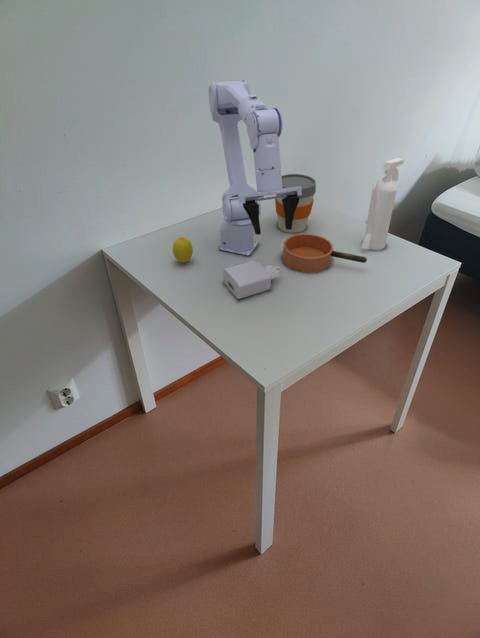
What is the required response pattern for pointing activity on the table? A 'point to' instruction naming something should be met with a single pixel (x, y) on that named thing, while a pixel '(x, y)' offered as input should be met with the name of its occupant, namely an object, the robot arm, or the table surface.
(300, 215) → the reusable coffee cup
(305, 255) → the pan
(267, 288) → the charger
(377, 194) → the white spray bottle
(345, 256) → the pan handle
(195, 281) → the table surface
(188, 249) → the lemon
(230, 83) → the robot arm
